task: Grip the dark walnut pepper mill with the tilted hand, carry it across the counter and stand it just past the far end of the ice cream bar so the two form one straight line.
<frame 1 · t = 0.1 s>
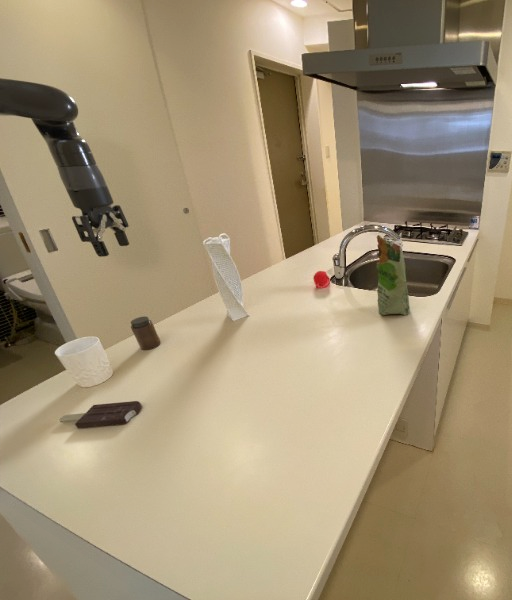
hand: (114, 250, 85), 27 cm above the counter, tool pointing down, fingers open, 8 cm apart
pepper mill: (150, 345, 94), on the counter
white cup: (96, 379, 81), on the counter
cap: (322, 286, 127), on the counter
skyscraper: (238, 316, 108), on the counter
ice cream bar: (101, 418, 70), on the counter
pouch: (392, 311, 109), on the counter
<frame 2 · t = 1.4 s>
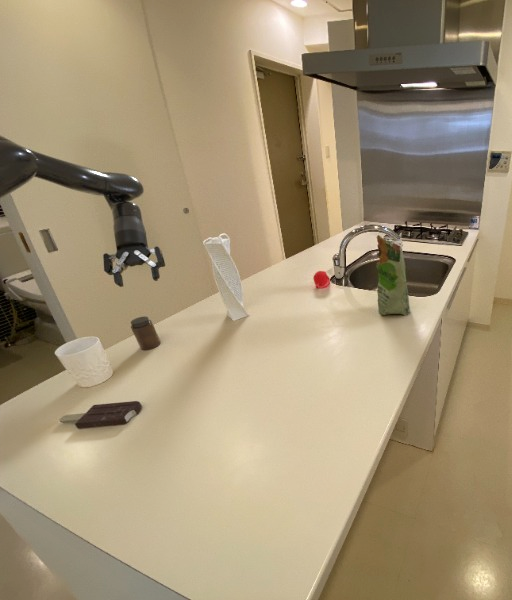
hand: (138, 282, 96), 15 cm above the counter, tool tilted 45°, fingers open, 8 cm apart
nothing on the counter moved.
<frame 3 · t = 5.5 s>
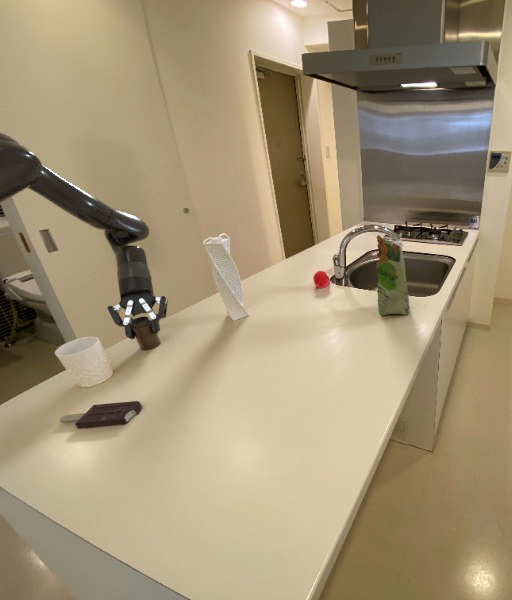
hand: (144, 335, 90), 4 cm above the counter, tool tilted 45°, fingers closed on pepper mill, 5 cm apart
pepper mill: (150, 345, 94), on the counter, touching gripper
everything else where it was.
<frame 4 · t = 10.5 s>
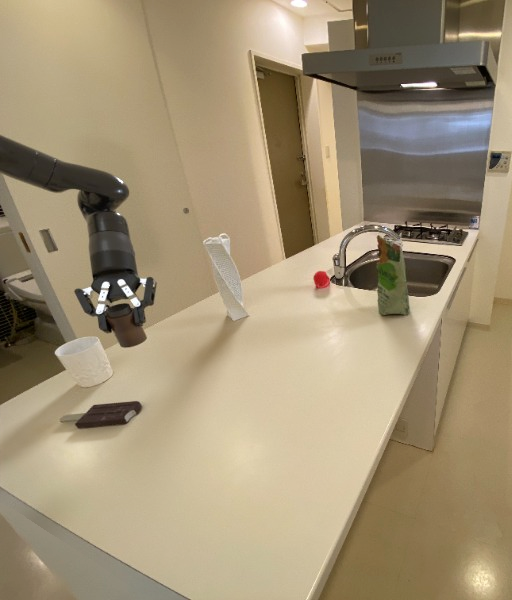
hand: (124, 328, 68), 18 cm above the counter, tool tilted 45°, fingers closed on pepper mill, 5 cm apart
pepper mill: (133, 341, 71), point 13 cm above the counter, touching gripper
everything else where it was.
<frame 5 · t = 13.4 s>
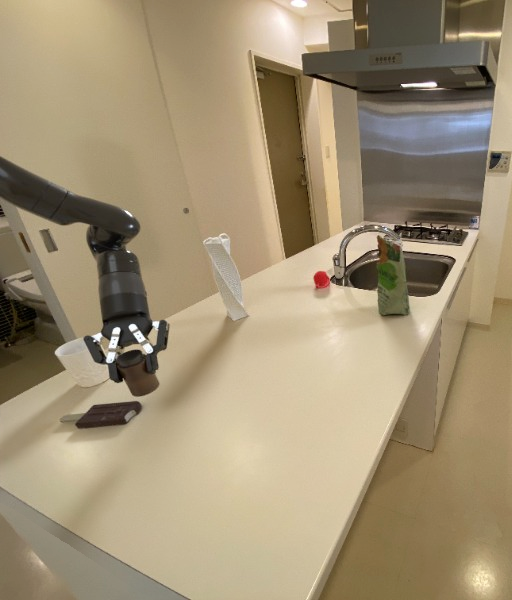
hand: (135, 377, 64), 12 cm above the counter, tool tilted 45°, fingers closed on pepper mill, 5 cm apart
pepper mill: (145, 388, 67), point 7 cm above the counter, touching gripper
everything else where it was.
when the fingers open (4 cm above the counter, at t = 15.8 s): pepper mill stays where it is, on the counter.
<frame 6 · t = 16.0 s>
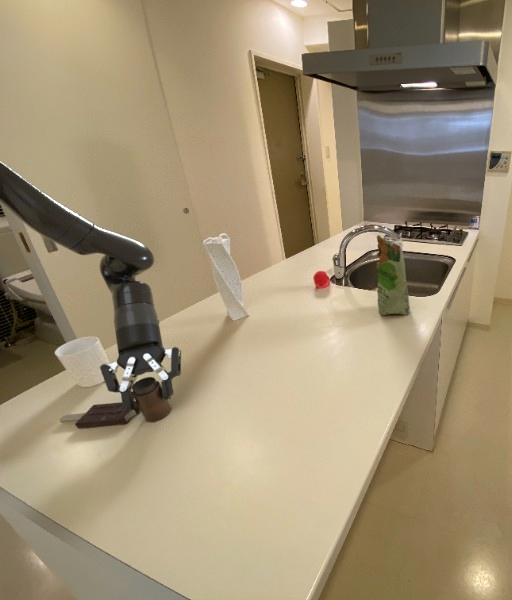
hand: (149, 403, 67), 4 cm above the counter, tool tilted 45°, fingers open, 5 cm apart
pepper mill: (158, 413, 71), on the counter
everything else where it was.
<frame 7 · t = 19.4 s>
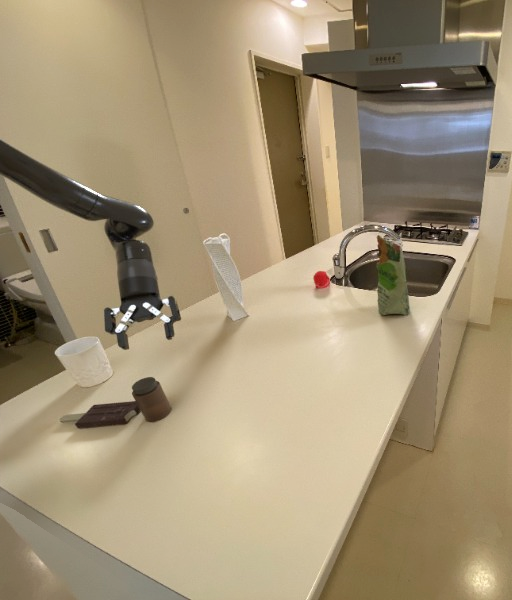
hand: (148, 343, 76), 10 cm above the counter, tool tilted 45°, fingers open, 8 cm apart
nothing on the counter moved.
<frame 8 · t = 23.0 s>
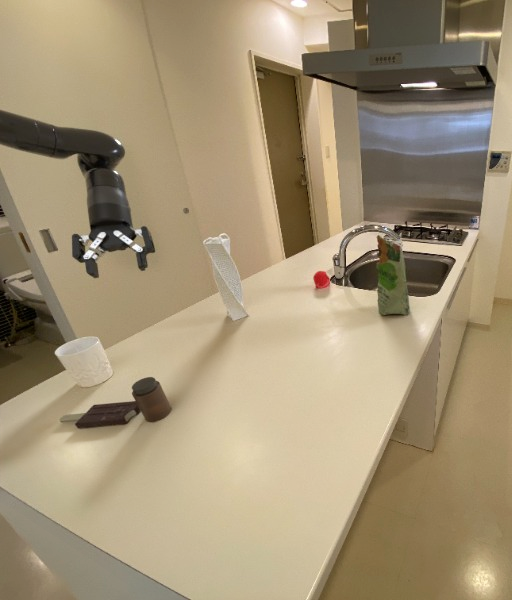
hand: (119, 272, 72), 27 cm above the counter, tool tilted 45°, fingers open, 8 cm apart
nothing on the counter moved.
at the end: pepper mill 0.6 cm from the target spot on the counter beside the ice cream bar, on the counter; pepper mill tilted 0°; the gripper is holding nothing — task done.
